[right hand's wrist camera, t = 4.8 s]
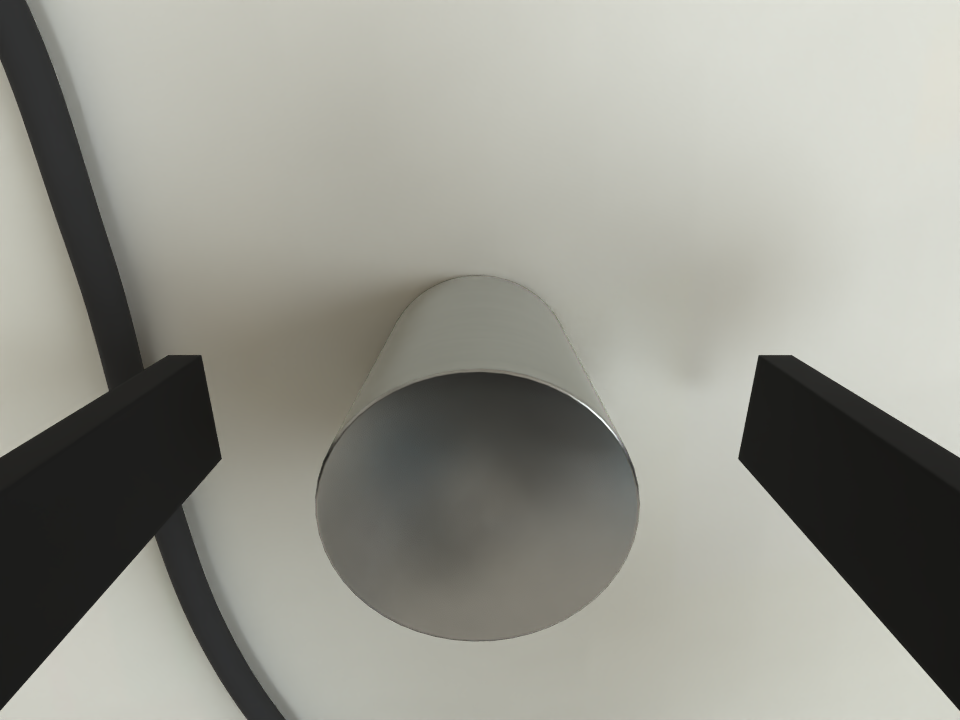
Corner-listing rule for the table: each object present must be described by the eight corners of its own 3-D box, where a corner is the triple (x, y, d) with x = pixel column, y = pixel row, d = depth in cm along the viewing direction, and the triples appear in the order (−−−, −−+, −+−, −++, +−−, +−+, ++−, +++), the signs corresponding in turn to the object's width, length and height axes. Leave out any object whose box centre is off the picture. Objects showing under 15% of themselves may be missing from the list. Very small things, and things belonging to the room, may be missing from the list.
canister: (351, 377, 16) (252, 541, 9) (463, 234, 14) (448, 296, 7) (490, 475, 17) (498, 686, 10) (606, 352, 15) (709, 499, 9)
